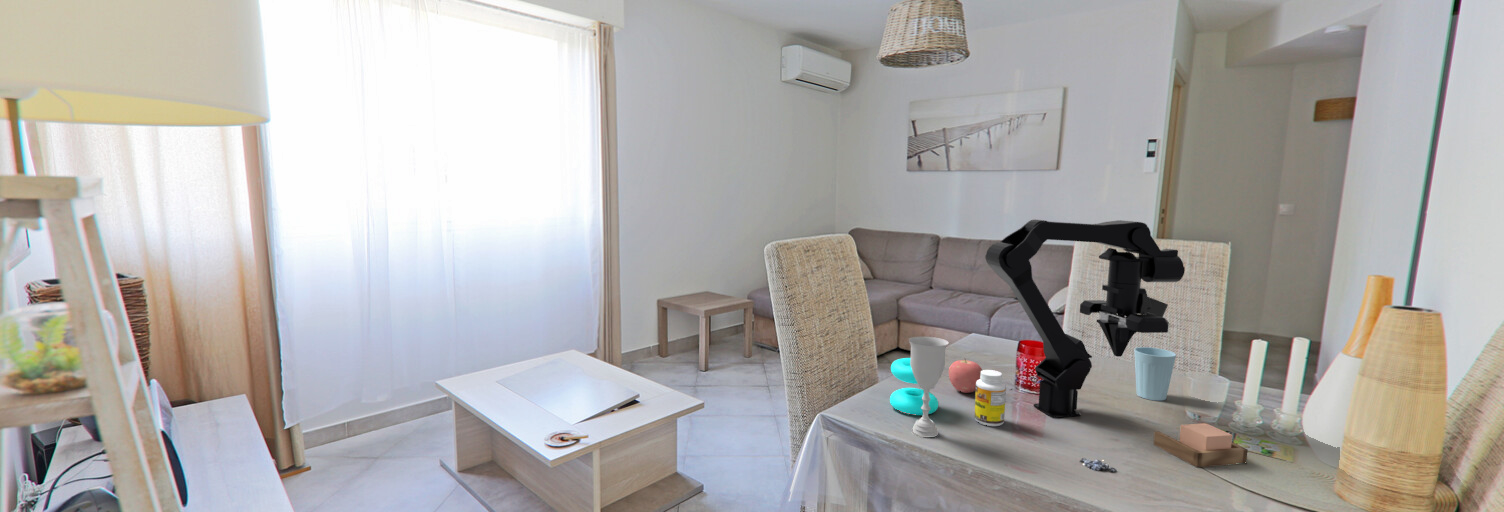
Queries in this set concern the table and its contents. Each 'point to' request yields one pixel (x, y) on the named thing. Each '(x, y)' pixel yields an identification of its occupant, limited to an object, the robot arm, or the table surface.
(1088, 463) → the metal chain
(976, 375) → the apple
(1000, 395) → the supplement bottle
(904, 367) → the donuts
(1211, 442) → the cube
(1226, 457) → the frame
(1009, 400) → the table surface
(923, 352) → the chalice
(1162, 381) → the cup
